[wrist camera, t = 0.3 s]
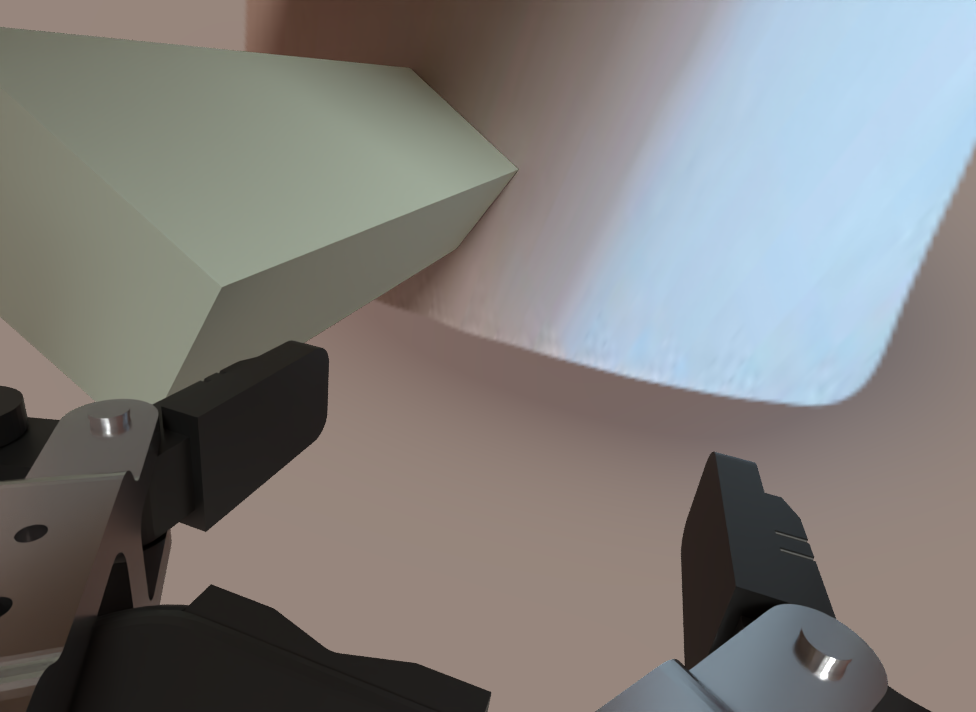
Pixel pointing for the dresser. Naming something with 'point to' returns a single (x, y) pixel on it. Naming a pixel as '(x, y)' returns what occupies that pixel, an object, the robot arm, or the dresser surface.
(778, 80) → the dresser surface
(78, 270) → the block
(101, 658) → the robot arm
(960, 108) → the dresser surface
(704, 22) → the dresser surface
